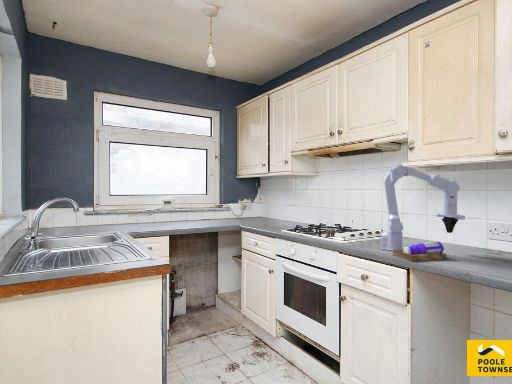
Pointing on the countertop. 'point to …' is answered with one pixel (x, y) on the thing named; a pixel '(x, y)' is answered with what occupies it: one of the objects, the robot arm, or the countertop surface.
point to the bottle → (424, 248)
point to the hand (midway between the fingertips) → (449, 232)
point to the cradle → (419, 256)
